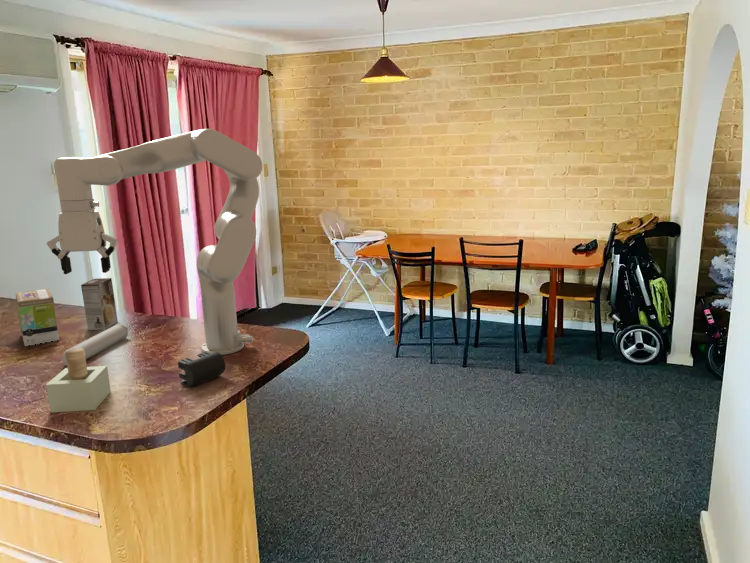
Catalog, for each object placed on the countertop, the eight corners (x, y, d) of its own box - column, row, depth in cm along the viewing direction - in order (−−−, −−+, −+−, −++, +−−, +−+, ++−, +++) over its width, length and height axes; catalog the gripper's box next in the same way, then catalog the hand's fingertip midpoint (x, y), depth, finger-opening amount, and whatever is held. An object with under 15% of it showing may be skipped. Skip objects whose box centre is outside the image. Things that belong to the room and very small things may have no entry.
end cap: (194, 391, 141) (192, 365, 139) (178, 384, 145) (175, 359, 143) (227, 377, 148) (225, 353, 147) (210, 371, 152) (208, 348, 151)
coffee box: (100, 321, 199) (94, 278, 195) (118, 321, 199) (112, 277, 195) (87, 330, 190) (80, 284, 186) (105, 330, 190) (99, 284, 186)
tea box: (60, 340, 180) (53, 296, 176) (24, 347, 175) (16, 301, 171) (55, 328, 192) (49, 287, 189) (21, 334, 187) (14, 292, 183)
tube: (75, 355, 156) (129, 326, 180) (58, 349, 156) (114, 321, 180) (73, 372, 157) (126, 341, 181) (56, 365, 158) (112, 335, 182)
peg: (93, 393, 137) (87, 347, 134) (86, 400, 134) (79, 354, 130) (77, 394, 137) (69, 348, 134) (69, 401, 133) (61, 354, 130)
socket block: (110, 391, 141) (107, 365, 139) (94, 409, 131) (90, 382, 129) (69, 394, 140) (65, 368, 138) (50, 412, 130) (45, 384, 129)
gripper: (117, 204, 146) (126, 268, 150) (49, 206, 145) (59, 270, 149) (107, 207, 139) (116, 274, 143) (34, 209, 138) (45, 277, 142)
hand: (87, 272), depth 146 cm, fingers open, 9 cm apart
